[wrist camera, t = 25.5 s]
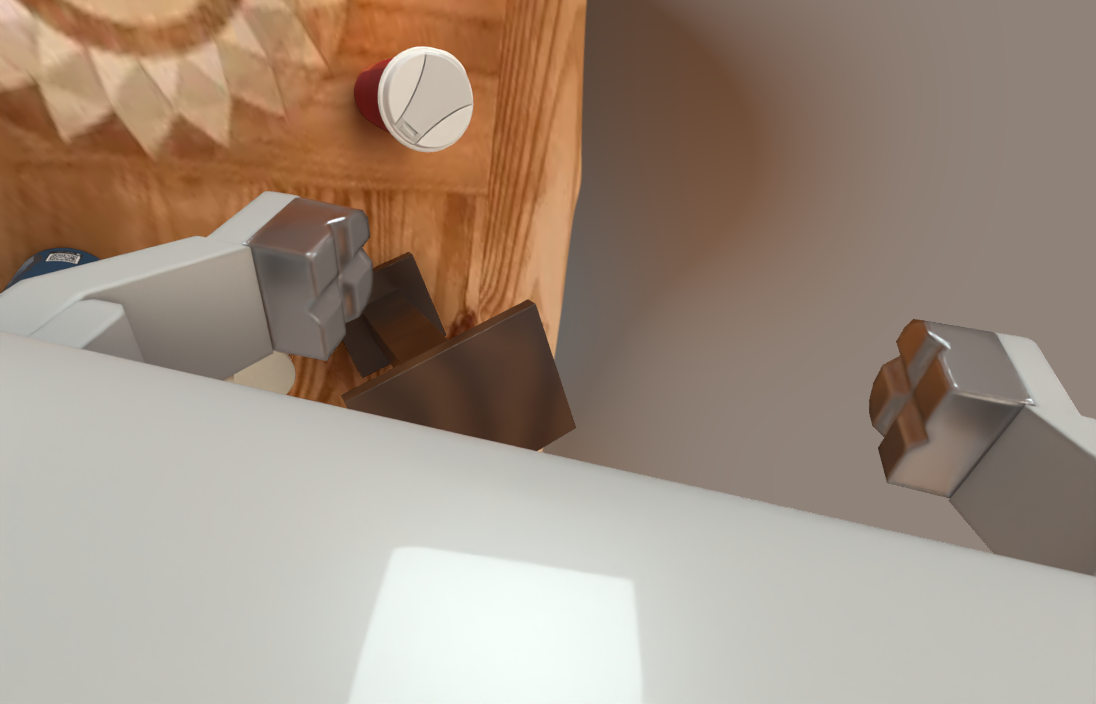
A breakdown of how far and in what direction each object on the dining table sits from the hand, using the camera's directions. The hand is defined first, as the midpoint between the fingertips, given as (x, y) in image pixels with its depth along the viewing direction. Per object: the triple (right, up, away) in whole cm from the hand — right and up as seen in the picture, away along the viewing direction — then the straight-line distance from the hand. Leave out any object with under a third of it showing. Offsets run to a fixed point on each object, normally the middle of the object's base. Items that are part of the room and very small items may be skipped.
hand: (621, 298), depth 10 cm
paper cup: (-17, +23, +51) cm, 59 cm away
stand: (-18, +3, +59) cm, 62 cm away
